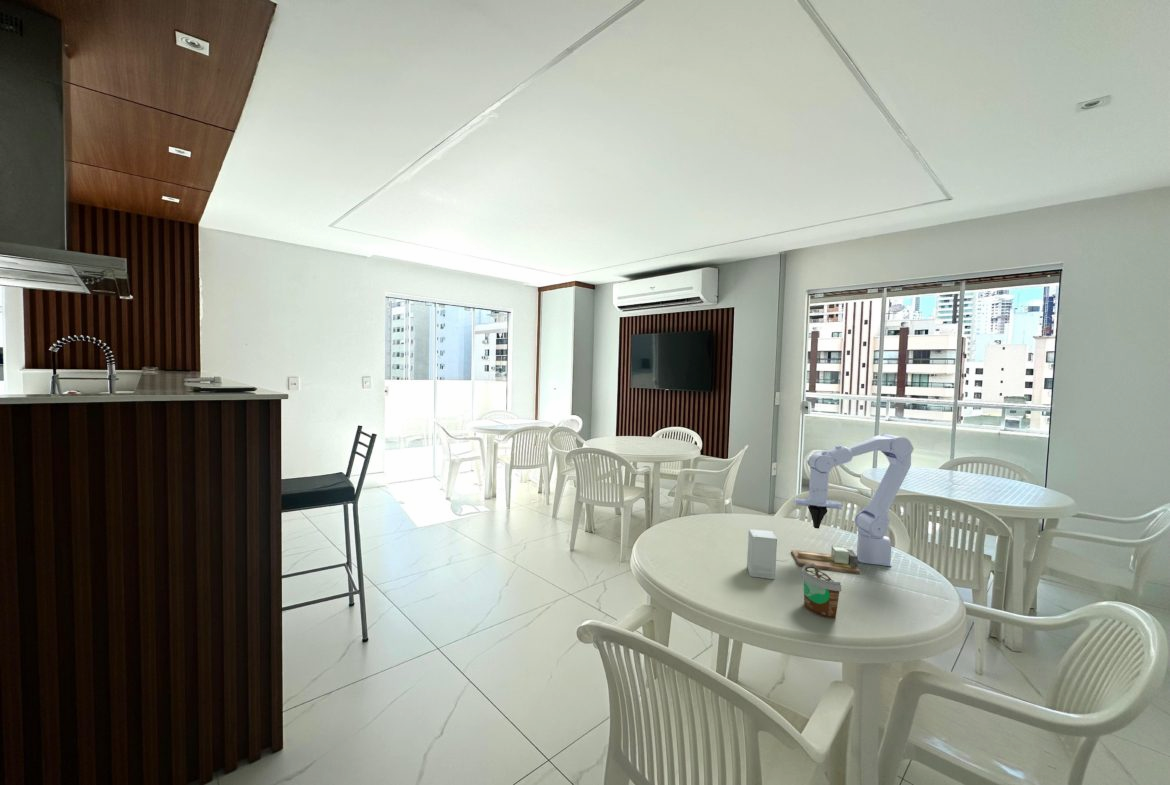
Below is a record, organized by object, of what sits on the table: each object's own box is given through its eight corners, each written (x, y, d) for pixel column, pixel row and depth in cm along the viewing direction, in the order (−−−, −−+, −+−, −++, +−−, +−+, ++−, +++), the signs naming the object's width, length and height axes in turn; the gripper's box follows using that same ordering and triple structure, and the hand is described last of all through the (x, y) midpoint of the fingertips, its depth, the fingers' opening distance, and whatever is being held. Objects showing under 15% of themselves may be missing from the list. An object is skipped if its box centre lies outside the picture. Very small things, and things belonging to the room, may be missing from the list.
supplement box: (775, 579, 136) (777, 538, 136) (750, 576, 138) (752, 536, 137) (770, 569, 144) (772, 530, 143) (746, 566, 145) (748, 528, 144)
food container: (790, 597, 125) (792, 562, 125) (810, 597, 126) (813, 562, 125) (816, 621, 113) (818, 583, 113) (839, 621, 114) (841, 583, 113)
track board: (847, 559, 154) (848, 546, 154) (859, 574, 143) (860, 560, 142) (791, 552, 159) (792, 539, 158) (798, 566, 147) (799, 552, 147)
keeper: (844, 558, 151) (844, 547, 151) (848, 564, 147) (849, 552, 147) (831, 557, 152) (831, 545, 152) (834, 562, 148) (835, 550, 148)
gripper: (798, 489, 152) (796, 528, 153) (845, 493, 149) (843, 533, 149) (793, 484, 159) (791, 522, 159) (838, 488, 156) (836, 527, 156)
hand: (816, 527), depth 155 cm, fingers closed
